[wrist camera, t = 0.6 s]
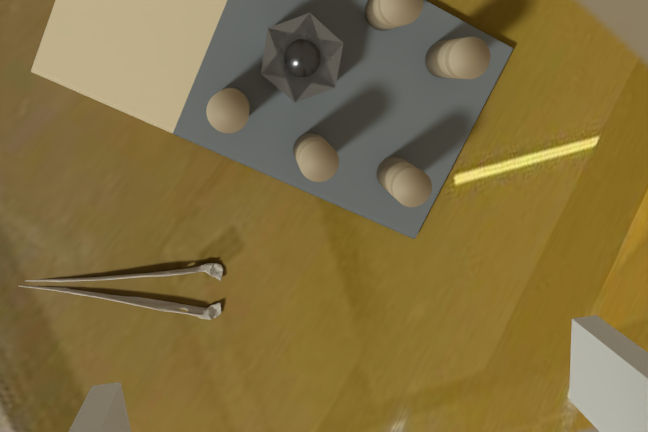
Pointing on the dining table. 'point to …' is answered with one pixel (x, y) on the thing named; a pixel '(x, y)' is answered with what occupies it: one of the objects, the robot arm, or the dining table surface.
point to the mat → (266, 99)
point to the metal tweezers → (160, 305)
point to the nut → (301, 57)
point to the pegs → (393, 172)
